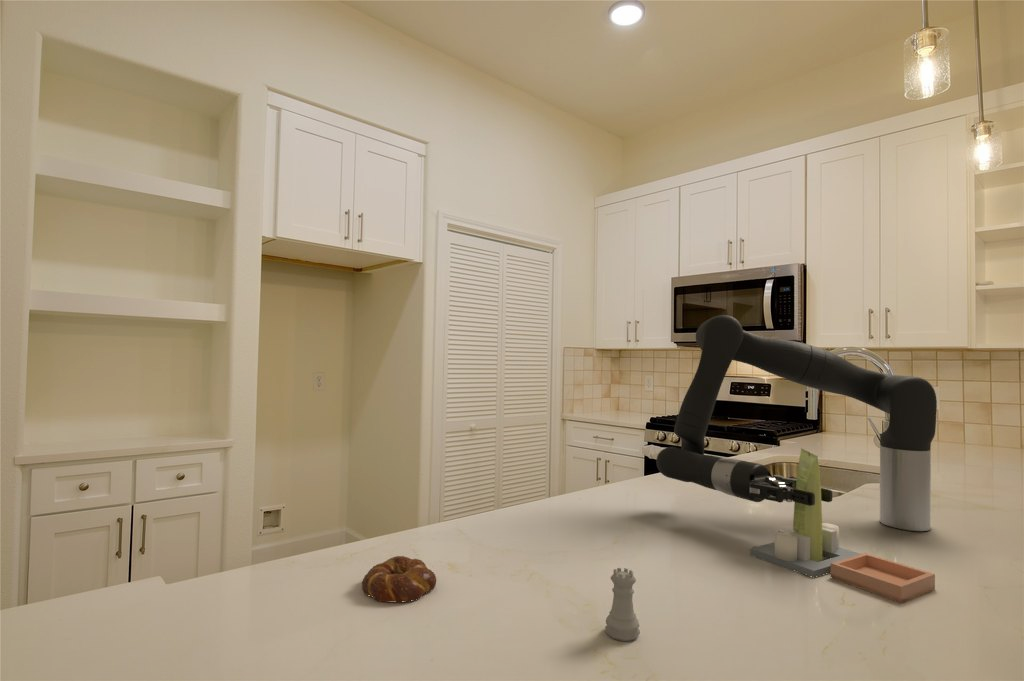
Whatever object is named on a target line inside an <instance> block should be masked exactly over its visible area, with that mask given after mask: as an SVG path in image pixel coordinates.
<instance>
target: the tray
mask: <svg viewBox="0 0 1024 681" xmlns="http://www.w3.org/2000/svg"><path fill="white" fill-rule="evenodd" d="M831 577H832V578H831ZM830 578H831V579H833V578H834V579H833V580H835V579H836V581H838V580H839V582H842V583H844V584H847V585H849V586H852V585H853V587H855V586H856V587H855V588H858V587H859V589H861V590H864V591H867V592H870V593H872V594H875V595H878V596H881V597H883V598H886V599H889V600H892V601H895V602H896V603H897V602H898V603H901V604H903V603H905V602H907V601H910V600H912V599H916V598H917V597H919V596H922V595H924V594H926V593H929V592H932V591H934V590H936V573H932V572H929V571H925V570H922V569H919V568H916V567H913V566H909V565H906V564H903V563H899V562H896V561H893V560H889V559H886V558H882V557H880V556H876V555H873V554H870V553H867V552H863V553H860V554H859V555H856V556H853V557H849V558H846V559H843V560H839V561H836V562H833V563H831V573H830Z"/></svg>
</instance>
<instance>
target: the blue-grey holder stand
mask: <svg viewBox="0 0 1024 681" xmlns="http://www.w3.org/2000/svg"><path fill="white" fill-rule="evenodd" d="M749 551H750V554H749V555H750V556H753V557H755V558H757V559H760V560H764V561H766V562H769V563H772V564H774V565H776V566H777V565H778V566H779V567H782V566H783V568H785V567H786V568H785V569H788V568H789V569H788V570H790V569H792V570H791V571H793V570H795V571H794V572H796V571H798V572H797V573H799V572H800V573H799V574H801V573H804V574H807V575H809V576H808V577H810V576H812V577H816V576H819V575H822V576H824V575H823V574H825V575H827V574H826V573H829V574H831V573H830V572H831V563H833V562H836V561H839V560H843V559H846V558H849V557H853V556H856V555H859V554H861V552H857V551H854V550H849V549H847V548H843V547H841V546H840V528H839V526H838V525H836V524H833V523H826V522H822V557H823V556H824V557H823V558H826V557H827V558H826V559H825V560H821V561H819V562H816V561H813V560H810V537H807V536H804V535H801V534H798V533H794V532H793V531H791V530H787V529H785V528H783V529H779V530H778V532H776V533H774V542H770V543H766V544H763V545H759V546H758V545H757V546H754V547H750V550H749ZM829 558H831V559H829ZM804 574H803V575H804ZM807 575H806V576H807ZM812 577H811V578H812ZM819 577H820V576H819ZM816 578H817V577H816Z"/></svg>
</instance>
